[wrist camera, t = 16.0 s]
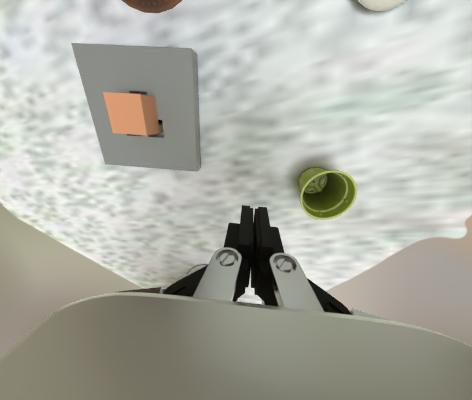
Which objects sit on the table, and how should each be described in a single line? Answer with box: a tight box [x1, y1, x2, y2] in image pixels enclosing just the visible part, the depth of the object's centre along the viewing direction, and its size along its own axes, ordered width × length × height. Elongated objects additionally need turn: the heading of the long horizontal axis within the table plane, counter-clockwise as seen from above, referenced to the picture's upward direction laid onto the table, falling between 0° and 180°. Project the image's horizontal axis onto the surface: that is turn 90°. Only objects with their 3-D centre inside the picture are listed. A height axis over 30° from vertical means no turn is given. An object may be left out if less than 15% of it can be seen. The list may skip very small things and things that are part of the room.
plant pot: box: [299, 167, 357, 220], centre depth 34 cm, size 9×9×9 cm
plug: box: [103, 92, 164, 135], centre depth 31 cm, size 6×6×7 cm
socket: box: [71, 43, 201, 171], centre depth 33 cm, size 20×20×3 cm
